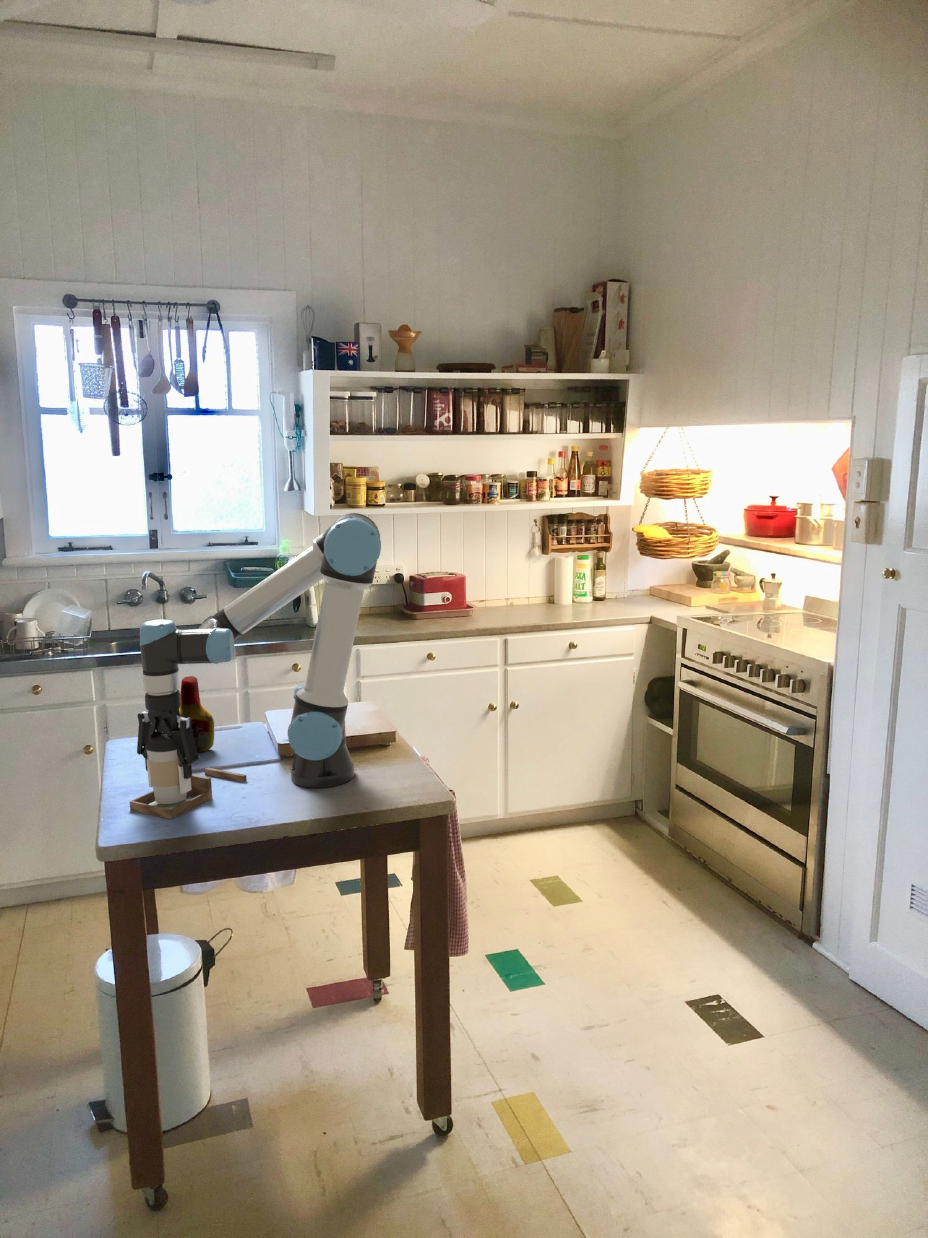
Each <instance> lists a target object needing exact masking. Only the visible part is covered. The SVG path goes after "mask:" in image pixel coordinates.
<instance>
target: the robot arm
mask: <svg viewBox="0 0 928 1238" xmlns="http://www.w3.org/2000/svg"><path fill="white" fill-rule="evenodd" d="M379 530H380V529H378V526H377V525H376V522H374V521H373V520H372V519H371V518H370V517H369V516H367V515H365V514H362V513H359V512H353V513H352V512H351V513H350V512H349V513H346V514H343V515H342V516H341V515H340V517H338V518H337V519H335V521H334V522H333V523H332V524H331V525H330V526H329V527H328V528H327V529H325V530H324V531H323V532H322V533H321V534H319V535H318V536H316V537H315V538H314V539H313V542H312V545H311V546H310V547H308V548H307V549H305V550H304V551H303V552H302V553H300V554H298V555H297V556H296V557H294V558H293V559H291V560H290V561H288V563H286V564H285V565H283V566H282V567H280V568H278V569H277V570H275V571H274V572H273V573H272V574H270V575H269V576H267V577H266V578H265V579H263V580H262V581H260V582H259V583H258V584H256V585H254V586H253V587H252V588H250V589H248V590H247V591H245V592H244V593H243V594H242V595H240V596H239V597H237V598H236V599H234V600H233V601H231V602H230V603H229V604H227V605H226V606H224V607H223V608H222V609H221V610H219V611H217V612H215V614H211V615H209V616H208V617H207V618H205V619H204V620H203V621H202V623H201V625H200V626H199V627H198V628H193V629H192V628H191V629H180V628H179V629H177V626H176V623H175V622H174V620H171V619H154V620H148V621H145V622H143V623H142V624H141V625H140V627H139V647H140V657H141V665H142V681H143V691H144V692H145V693H144V705H145V709H146V710H144V711H142V712H139V713H137V720H138V729H137V731H138V732H137V743H136V744H137V746H136V753H137V754H138V755H139V756H140V755H142V757H143V758H144V764H145V765H144V766H145V770H146V772H147V779H148V787H149V788H153V784H152V782H151V776H150V770H149V765H148V759H147V758H148V755H147V750H146V748H145V747H146V742H147V741H148V740H149V739H150V736H151V734H152V735H153V737H156V736H158V735H161V733H162V732H164V733H166V734H167V737H168V738H170V739H172V740H173V742H174V744H175V745H176V747H177V749H178V750H177V756H178V758H179V760H180V763H181V764H180V765H178V771H179V784H180V794H184V793H186V792H188V791H190V790H191V777H192V774H193V768H192V764H194V763H196V762H197V761H199V759H200V758H199V754H198V753H199V752H197V748H196V744H195V740H194V736H193V731H192V719H191V718H190V717H189V718H183V717H181V715H180V712H179V708H180V706H181V690H180V689H179V688H181V685H180V673H179V665H186V664H187V665H190V664H193V665H194V664H196V665H197V664H215V665H217V664H221V663H229V662H231V661H232V660H233V658H234V654H235V641H236V640H237V639H239V638H240V637H242V636H243V635H244V634H246V633H247V632H249V631H250V630H251V629H253V628H254V627H255V626H257V625H258V624H260V623H261V622H262V621H265V620H266V619H268V617H270V616H272V615H273V614H274V613H276V612H277V611H279V610H280V609H281V608H283V607H285V606H286V605H287V604H289V603H290V602H292V601H293V600H295V599H297V598H298V597H300V595H302V594H303V593H305V592H306V591H308V590H309V589H311V588H312V587H313V586H315V585H317V584H318V583H320V581H323V580H324V587H323V590H322V596H321V602H320V606H319V613H318V618H317V622H316V626H315V633H314V637H313V638H314V639H313V643H312V647H311V653H310V657H309V658H310V659H309V663H308V669H307V674H306V678H305V683H303V684H299V685H297V686H296V687H295V688H294V693H293V694H294V695H293V699H294V703H293V704H294V705H293V709H292V713H291V714H292V715H291V720H290V724H289V725H288V728H287V738H288V739H287V740H288V744H289V746H290V747H291V749H292V751H293V752H295V754H294V756H293V761H292V765H291V768H290V780H291V781H292V783H293V784H295V785H297V786H301V787H306V788H315V789H317V788H318V789H319V788H330V787H335V786H340V785H342V784H346V783H348V782H350V781H351V780H353V778H354V777H355V765H354V762H353V761H352V758H351V754H350V752H349V749H348V747H347V740H346V739H347V737H346V734H347V733H346V716H347V710H348V705H349V699H348V698H347V697H346V695H345V692H344V690H345V686H346V682H347V676H348V671H349V667H350V662H351V661H350V660H351V656H352V651H353V647H354V641H355V636H356V634H357V633H356V632H357V626H358V621H359V617H360V612H361V608H362V607H361V606H362V602H363V597H364V592H365V589H367V588H368V587H370V586H372V585H373V583H374V579H375V574H376V570H377V569H376V568H377V565H378V559H379V558H380V555H381V551H382V541H381V533H380V531H379ZM175 730H176V732H173V731H175ZM172 732H173V733H172ZM185 757H186V759H185Z"/></svg>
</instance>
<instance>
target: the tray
mask: <svg viewBox="0 0 928 1238" xmlns="http://www.w3.org/2000/svg"><path fill="white" fill-rule="evenodd" d="M188 796H189V797H188ZM191 797H192V798H191ZM212 799H213V787H212V778H211V777H209V776H206V775H199V774H194V773H192V777H191V790H190V791H188V792H187V797H186V799H184V800H183V801H181V802H178V803H174V804H159V803H157V802H156V801H155V796H154V790H152V791H148V792H147V793H144V794H143V795H140V796H139V797H136V798H134V799H132V800H130V801H129V809H130V811H133V812H137V813H138V812H139V813H141V814H146V815H147V814H148V815H151V816H155V817H160V818H163V819H169V820H172V819H173V820H174V818H177V817H178V816H180V815H182V814H184V813H187V812H189V811H191V810H193V809H195V808H196V807H199V806H200V805H202V804H205V803H206V802H208V801H210V800H212ZM148 803H149V804H148Z"/></svg>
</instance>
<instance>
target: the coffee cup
mask: <svg viewBox="0 0 928 1238" xmlns="http://www.w3.org/2000/svg"><path fill="white" fill-rule="evenodd" d="M173 732H175V731H173ZM173 732H172V733H173ZM145 748H146V750H147V755H148V758H147V759H148V765H149V770H150V776H151V782H152V784H153V787H152V789H153V790H154V796H155V800H154V801H156V802H157V803H159V804H174V803H178V802H181V801H183V800H184V799H186V797H188V795H187V792H186V793H184V794H180V784H179V771H178V765H180V764H181V763H180V760H179V758H178V756H177V750H178V749H177V747H176V745H175V744H174V742H173V740H172V739H170V738H168V737H167V734H166V733H164V732H162V733H161V735H158V736H156V737H153V735H152V734H151V736H150V739H149V740H148V741H147V742H146V747H145ZM185 759H186V757H185ZM153 790H152V791H153Z"/></svg>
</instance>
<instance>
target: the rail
mask: <svg viewBox="0 0 928 1238" xmlns="http://www.w3.org/2000/svg"><path fill="white" fill-rule="evenodd" d="M204 776H212V777H216V778H221V779H225V780H231V781H235V782H241V783H246V782H247V774H244V773H243V774H242V773H239V772H232V771H227V770H223V769H217V768H212V767H206V768H204Z"/></svg>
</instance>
